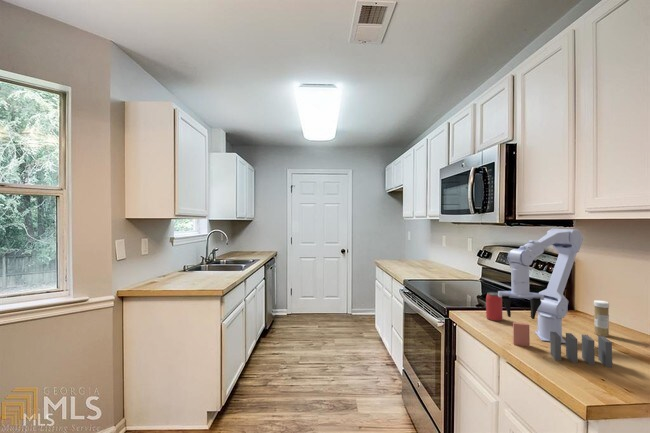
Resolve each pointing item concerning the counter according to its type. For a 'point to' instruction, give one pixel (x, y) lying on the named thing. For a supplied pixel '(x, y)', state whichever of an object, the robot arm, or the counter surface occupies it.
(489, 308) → the beer can
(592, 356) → the domino
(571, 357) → the domino
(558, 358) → the domino
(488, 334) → the counter surface
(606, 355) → the domino
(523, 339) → the red domino
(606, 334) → the sprinkles bottle
